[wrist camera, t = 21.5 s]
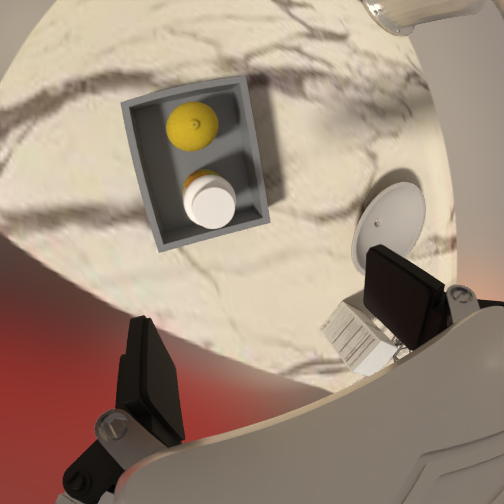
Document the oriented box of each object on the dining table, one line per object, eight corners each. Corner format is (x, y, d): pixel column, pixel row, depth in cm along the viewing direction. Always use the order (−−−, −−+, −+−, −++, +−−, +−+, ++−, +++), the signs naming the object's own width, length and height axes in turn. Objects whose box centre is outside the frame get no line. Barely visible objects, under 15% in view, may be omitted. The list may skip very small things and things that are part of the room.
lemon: (170, 104, 28) (168, 94, 21) (215, 108, 29) (228, 99, 22) (165, 149, 30) (161, 151, 23) (210, 151, 31) (220, 155, 24)
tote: (128, 107, 27) (120, 102, 23) (235, 83, 29) (245, 75, 25) (160, 237, 35) (159, 252, 30) (258, 211, 37) (270, 222, 33)
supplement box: (362, 310, 52) (400, 348, 40) (339, 338, 53) (372, 379, 42) (342, 298, 48) (382, 339, 37) (317, 329, 50) (351, 374, 39)
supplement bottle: (225, 168, 33) (244, 179, 24) (224, 209, 35) (242, 235, 26) (181, 168, 31) (184, 180, 23) (182, 211, 33) (185, 237, 25)
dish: (356, 280, 48) (372, 293, 43) (318, 227, 41) (335, 239, 36) (415, 216, 46) (433, 224, 42) (388, 157, 39) (409, 161, 35)
